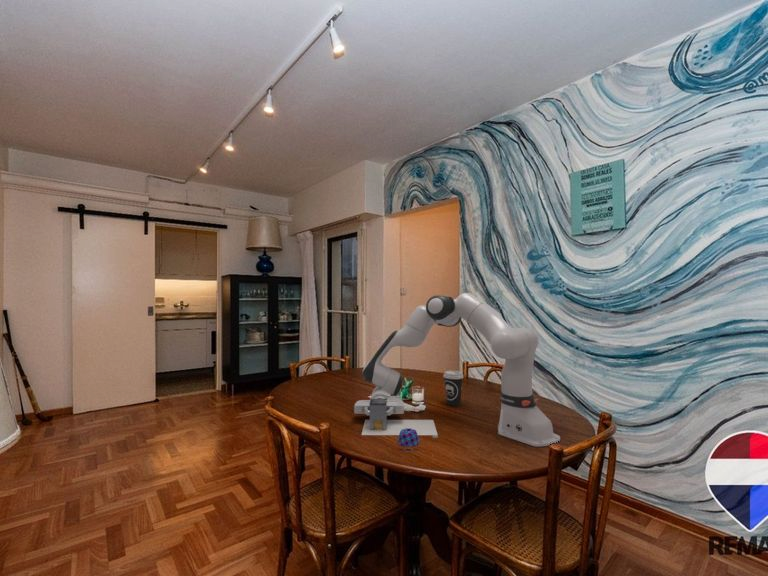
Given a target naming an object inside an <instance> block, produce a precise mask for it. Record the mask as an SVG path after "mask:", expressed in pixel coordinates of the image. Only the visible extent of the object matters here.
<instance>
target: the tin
mask: <svg viewBox="0 0 768 576" xmlns="http://www.w3.org/2000/svg"><path fill="white" fill-rule="evenodd" d="M369 400H370V399H369ZM369 420H370V430H374V420H383V430H387V420H388V416H387V399H371V400H370V416H369Z"/></svg>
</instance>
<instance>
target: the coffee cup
mask: <svg viewBox="0 0 768 576" xmlns="http://www.w3.org/2000/svg"><path fill="white" fill-rule="evenodd" d="M442 377H443V378H444V389H445V401H446V405H447V404H448V405H447V406H450V405H451V407H459V406H461V405H460V404H462V403H461V402H462V391H463V379H464V374H463V372H462V371H459V370H447V371H444V374H443V376H442ZM458 405H459V406H458Z"/></svg>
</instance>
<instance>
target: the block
mask: <svg viewBox="0 0 768 576" xmlns="http://www.w3.org/2000/svg"><path fill="white" fill-rule="evenodd" d="M374 429H383V420H374Z"/></svg>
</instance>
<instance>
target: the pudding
mask: <svg viewBox="0 0 768 576" xmlns="http://www.w3.org/2000/svg"><path fill="white" fill-rule="evenodd" d="M397 444H399V446H401V447H406V448H410V449H400V448H398V449H397V450H398V451H402V452H417V451H421V450H422V449H414V448H413V449H411V447H417V446H418V445H420V440H419V435H418V434H417V432H416V430H414V429H411V428H409V429H408V428H406V429H402V430H401V431H400V434H399V435H398V438H397Z"/></svg>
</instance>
